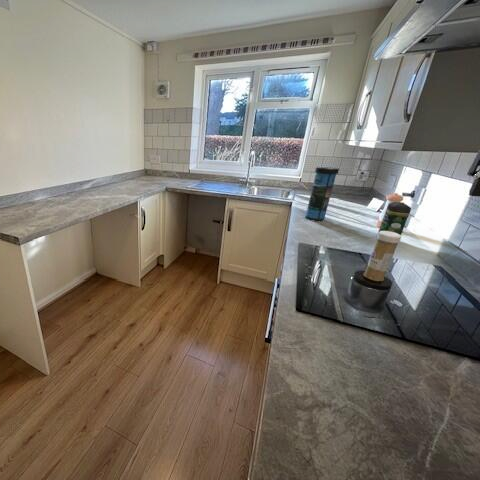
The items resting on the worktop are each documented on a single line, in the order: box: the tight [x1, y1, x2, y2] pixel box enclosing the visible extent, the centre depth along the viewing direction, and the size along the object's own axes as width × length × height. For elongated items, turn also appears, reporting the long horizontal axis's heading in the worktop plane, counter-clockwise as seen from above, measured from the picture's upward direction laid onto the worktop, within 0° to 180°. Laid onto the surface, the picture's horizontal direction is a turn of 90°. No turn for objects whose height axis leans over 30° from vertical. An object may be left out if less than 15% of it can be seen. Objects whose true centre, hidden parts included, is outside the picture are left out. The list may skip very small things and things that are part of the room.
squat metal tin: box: [343, 270, 393, 319], centre depth 74 cm, size 9×9×10 cm
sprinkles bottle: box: [364, 231, 402, 281], centre depth 70 cm, size 5×5×14 cm
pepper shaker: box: [375, 192, 404, 229], centre depth 140 cm, size 7×7×19 cm
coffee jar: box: [376, 201, 412, 237], centre depth 123 cm, size 10×8×19 cm
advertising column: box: [304, 166, 340, 222], centre depth 151 cm, size 11×11×30 cm
